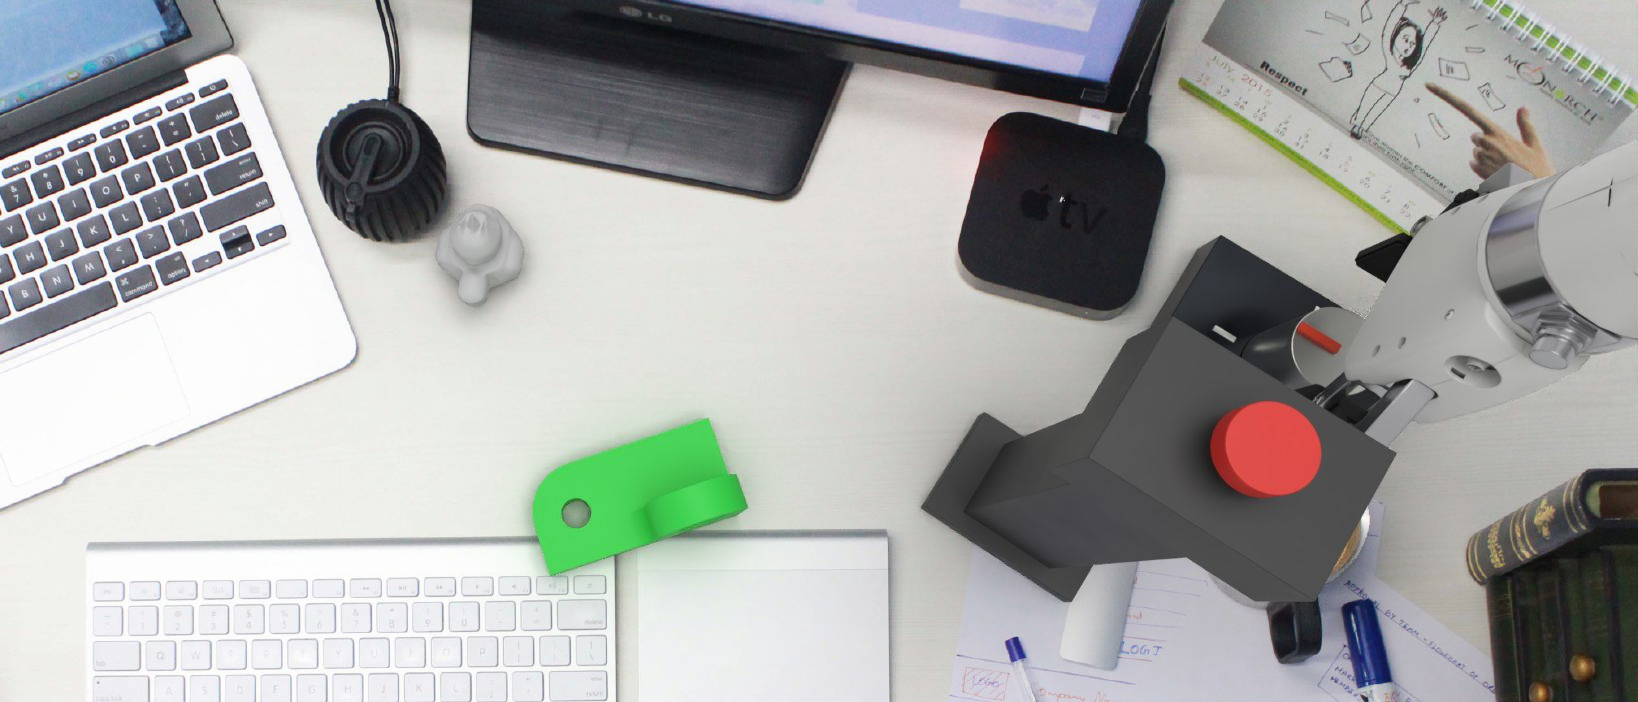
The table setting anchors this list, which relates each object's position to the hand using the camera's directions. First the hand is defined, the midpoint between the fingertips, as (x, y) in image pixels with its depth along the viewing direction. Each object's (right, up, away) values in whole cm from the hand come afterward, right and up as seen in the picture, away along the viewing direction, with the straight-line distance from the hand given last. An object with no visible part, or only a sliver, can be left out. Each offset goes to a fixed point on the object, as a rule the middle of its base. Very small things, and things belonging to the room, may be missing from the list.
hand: (1338, 343), depth 65 cm
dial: (0, -2, +6) cm, 6 cm away
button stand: (-15, -10, +7) cm, 19 cm away
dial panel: (0, -2, +9) cm, 9 cm away
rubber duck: (-48, +5, +11) cm, 49 cm away
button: (-15, -4, -18) cm, 24 cm away
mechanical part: (-39, -9, +8) cm, 40 cm away
